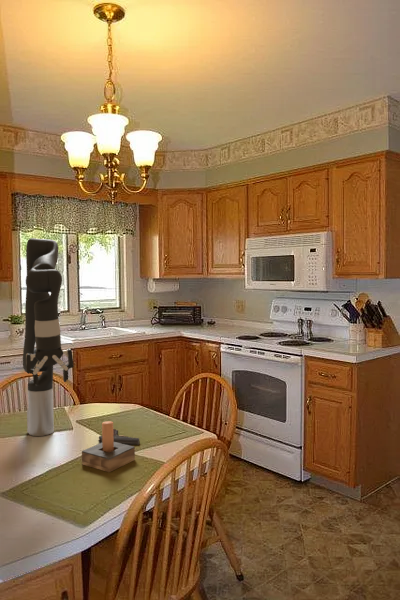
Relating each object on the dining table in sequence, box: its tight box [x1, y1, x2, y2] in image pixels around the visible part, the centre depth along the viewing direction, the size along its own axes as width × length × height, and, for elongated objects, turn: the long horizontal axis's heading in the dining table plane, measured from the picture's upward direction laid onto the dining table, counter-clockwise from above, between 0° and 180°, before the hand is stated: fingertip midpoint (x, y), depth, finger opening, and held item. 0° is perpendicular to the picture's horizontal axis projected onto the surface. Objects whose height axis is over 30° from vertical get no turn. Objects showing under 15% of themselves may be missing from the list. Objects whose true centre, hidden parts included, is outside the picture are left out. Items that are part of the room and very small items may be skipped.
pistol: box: [97, 428, 141, 446], centre depth 181 cm, size 3×15×12 cm
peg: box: [101, 420, 114, 453], centre depth 159 cm, size 4×4×12 cm
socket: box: [81, 442, 136, 473], centre depth 159 cm, size 12×12×4 cm
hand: (51, 383), depth 155 cm, fingers open, 8 cm apart
